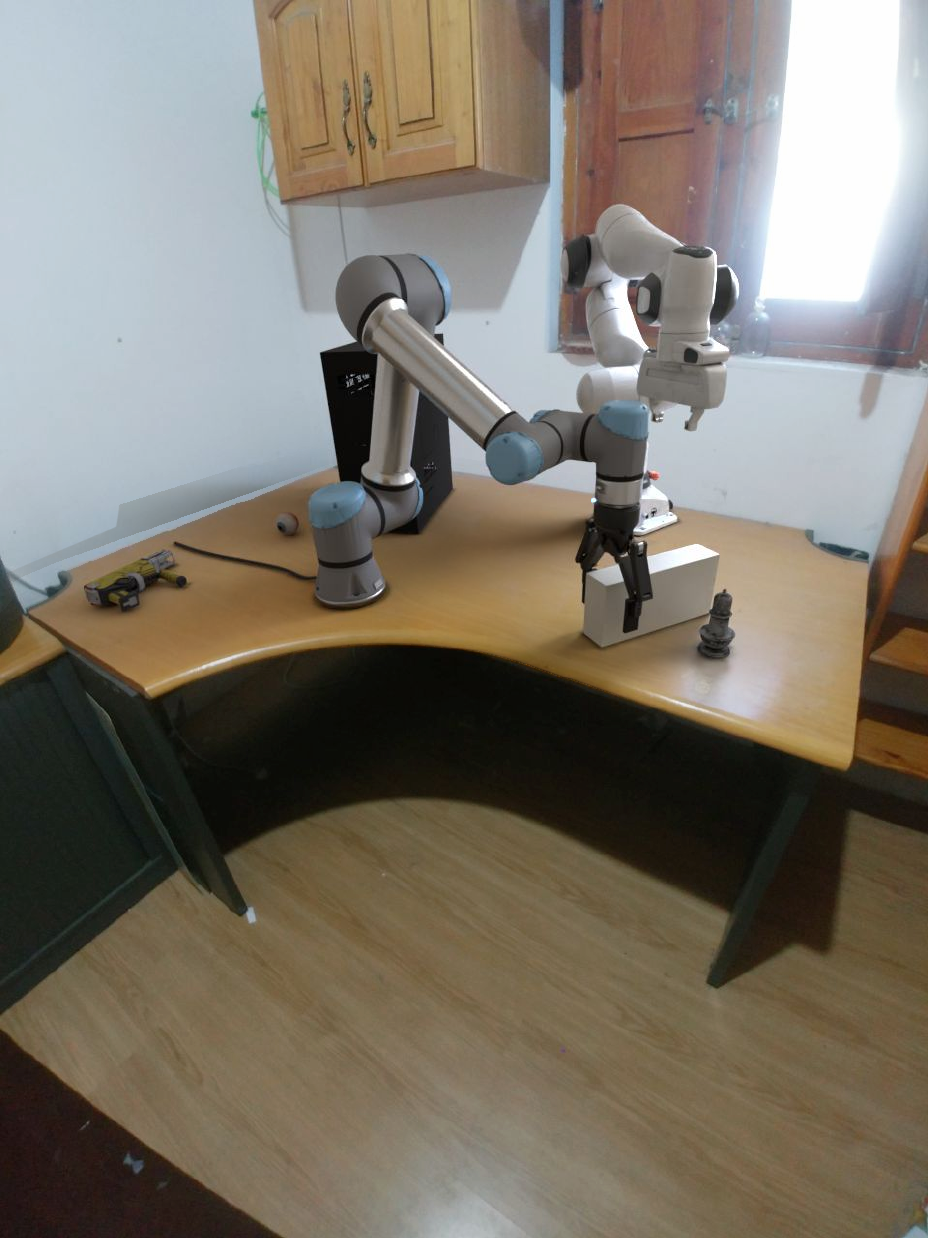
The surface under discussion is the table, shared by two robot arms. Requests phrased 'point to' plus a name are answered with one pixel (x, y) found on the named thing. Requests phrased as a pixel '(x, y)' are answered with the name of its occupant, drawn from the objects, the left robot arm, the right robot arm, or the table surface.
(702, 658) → the table surface
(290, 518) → the eyeball
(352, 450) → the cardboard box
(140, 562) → the toy gun
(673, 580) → the box
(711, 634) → the dark grey chess piece
